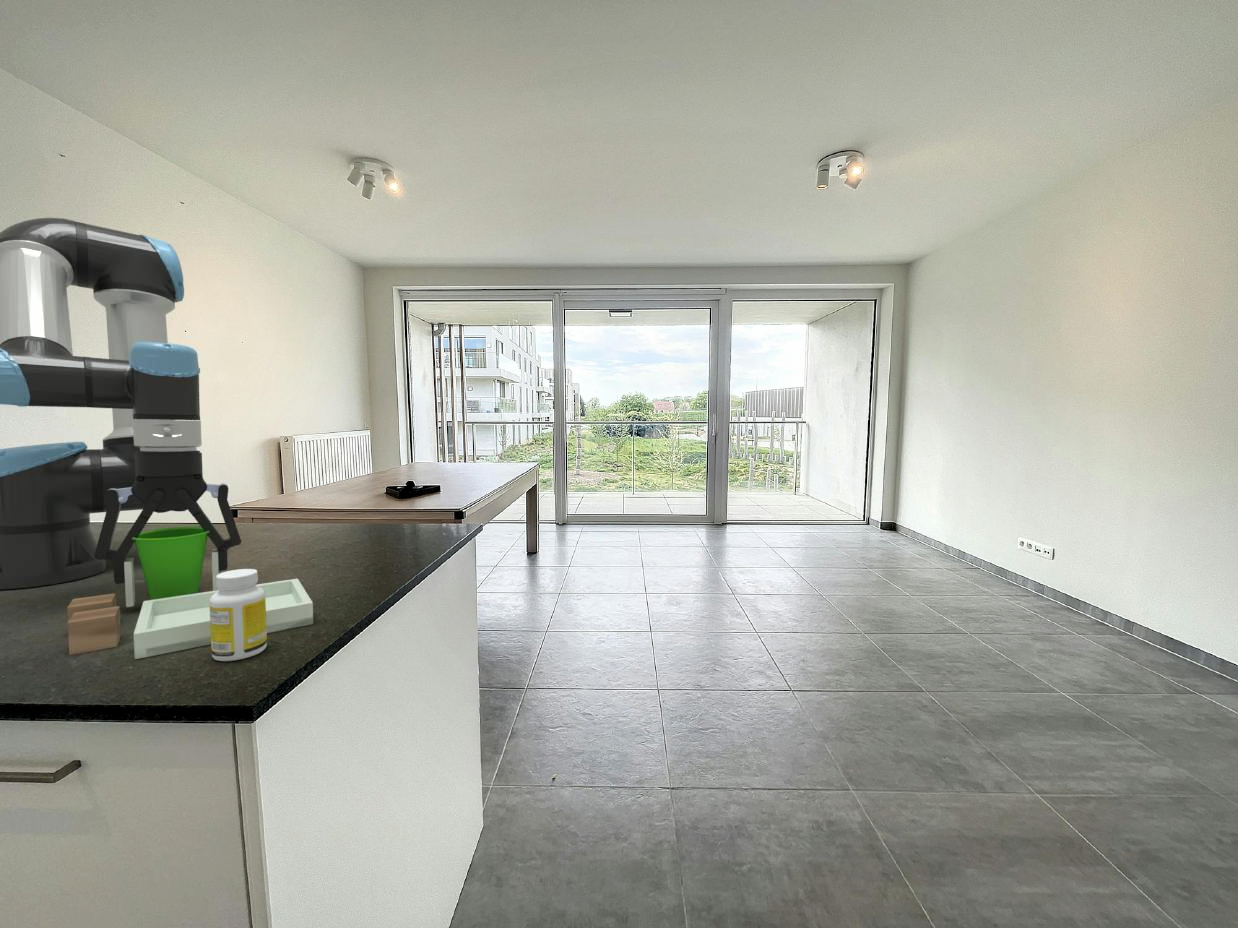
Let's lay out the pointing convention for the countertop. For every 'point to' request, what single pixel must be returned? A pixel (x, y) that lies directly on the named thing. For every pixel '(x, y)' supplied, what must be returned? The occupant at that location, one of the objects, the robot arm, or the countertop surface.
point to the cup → (172, 560)
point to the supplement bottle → (237, 616)
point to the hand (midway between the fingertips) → (175, 597)
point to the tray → (189, 618)
